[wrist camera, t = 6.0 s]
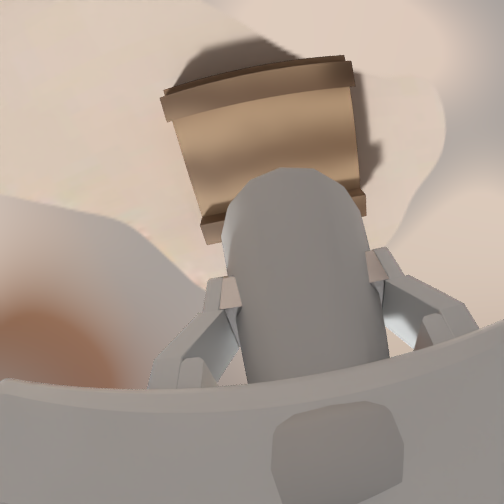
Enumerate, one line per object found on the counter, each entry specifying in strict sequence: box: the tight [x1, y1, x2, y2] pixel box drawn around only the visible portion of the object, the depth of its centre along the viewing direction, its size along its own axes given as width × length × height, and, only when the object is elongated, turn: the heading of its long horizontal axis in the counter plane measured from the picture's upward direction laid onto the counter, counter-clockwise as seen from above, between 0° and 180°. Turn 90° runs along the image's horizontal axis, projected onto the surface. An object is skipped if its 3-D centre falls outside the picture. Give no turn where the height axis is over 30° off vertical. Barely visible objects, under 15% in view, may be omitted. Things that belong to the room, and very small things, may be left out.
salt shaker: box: [221, 168, 404, 504], centre depth 9 cm, size 6×6×13 cm
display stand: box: [160, 55, 366, 245], centre depth 24 cm, size 14×14×4 cm
